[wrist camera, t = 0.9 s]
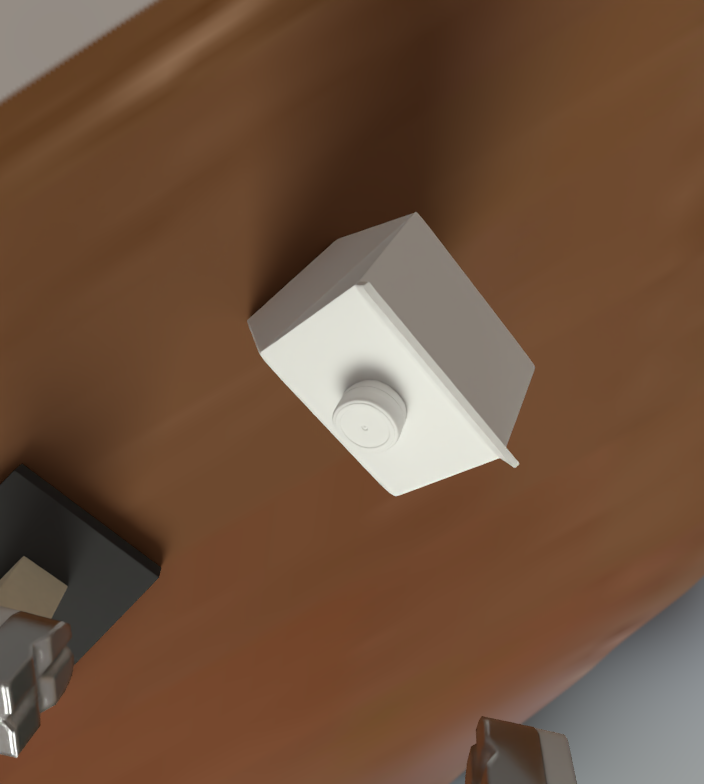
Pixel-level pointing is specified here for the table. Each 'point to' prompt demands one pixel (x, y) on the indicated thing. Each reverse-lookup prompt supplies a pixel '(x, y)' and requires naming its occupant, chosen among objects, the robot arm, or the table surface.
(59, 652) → the robot arm
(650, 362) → the table surface
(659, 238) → the table surface
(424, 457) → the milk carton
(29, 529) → the loose pad
